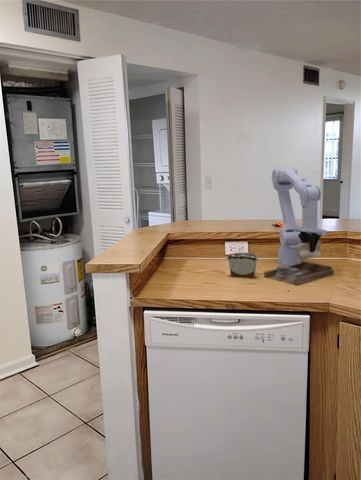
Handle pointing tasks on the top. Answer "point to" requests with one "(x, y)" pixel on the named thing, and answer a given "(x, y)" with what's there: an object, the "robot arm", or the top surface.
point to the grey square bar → (288, 273)
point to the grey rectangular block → (307, 251)
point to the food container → (242, 265)
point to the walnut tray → (304, 273)
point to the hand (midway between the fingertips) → (309, 251)
